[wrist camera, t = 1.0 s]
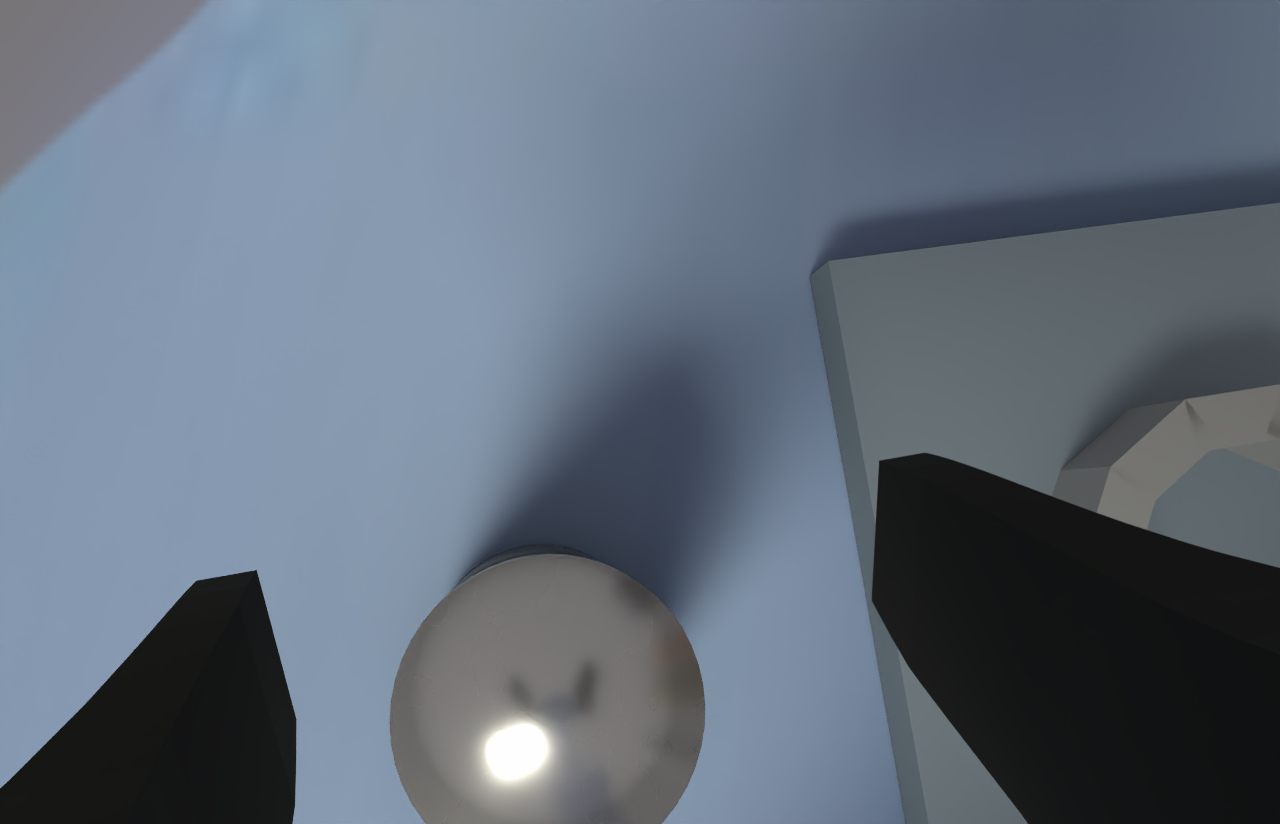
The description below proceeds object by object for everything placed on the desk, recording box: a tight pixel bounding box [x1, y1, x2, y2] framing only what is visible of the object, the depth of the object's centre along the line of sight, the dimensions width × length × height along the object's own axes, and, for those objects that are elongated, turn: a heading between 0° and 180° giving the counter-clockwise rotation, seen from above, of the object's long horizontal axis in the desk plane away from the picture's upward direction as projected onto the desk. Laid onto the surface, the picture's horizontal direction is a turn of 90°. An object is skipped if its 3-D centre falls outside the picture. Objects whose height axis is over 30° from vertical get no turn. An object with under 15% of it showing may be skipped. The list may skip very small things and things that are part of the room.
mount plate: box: [810, 203, 1280, 824], centre depth 23 cm, size 18×16×4 cm
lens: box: [390, 545, 705, 824], centre depth 19 cm, size 5×5×7 cm
